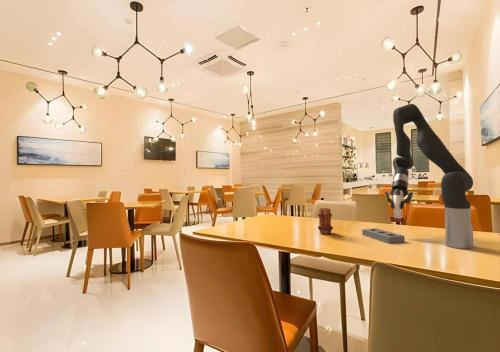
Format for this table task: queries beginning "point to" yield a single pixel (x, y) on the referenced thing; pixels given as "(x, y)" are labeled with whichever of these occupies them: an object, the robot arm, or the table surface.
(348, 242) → the table surface
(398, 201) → the plug
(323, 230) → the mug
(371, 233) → the gray slotted tray
